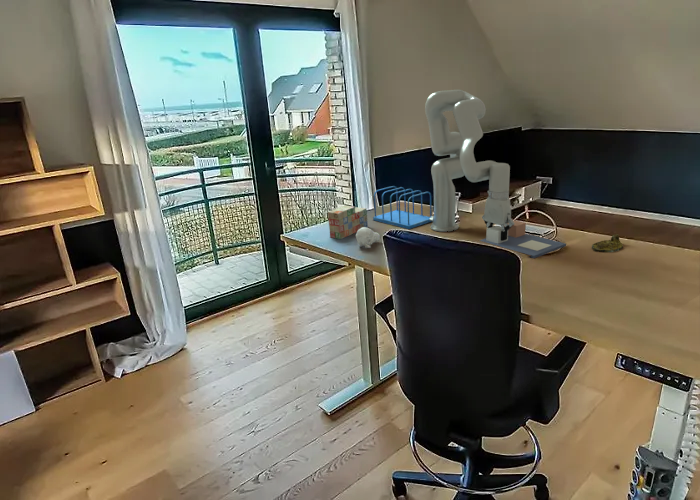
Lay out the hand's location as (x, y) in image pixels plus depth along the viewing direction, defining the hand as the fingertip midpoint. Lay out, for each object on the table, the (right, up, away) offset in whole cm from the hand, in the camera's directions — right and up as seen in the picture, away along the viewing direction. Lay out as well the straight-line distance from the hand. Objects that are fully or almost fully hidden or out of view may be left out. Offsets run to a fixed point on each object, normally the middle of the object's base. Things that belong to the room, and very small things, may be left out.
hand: (497, 237), depth 192 cm
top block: (+9, +1, +6) cm, 11 cm away
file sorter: (-34, +9, +41) cm, 54 cm away
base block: (0, -1, 0) cm, 1 cm away
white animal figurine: (-52, -3, +9) cm, 52 cm away
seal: (+38, -5, -12) cm, 40 cm away
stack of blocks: (-60, +3, +29) cm, 67 cm away
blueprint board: (+9, -3, -3) cm, 10 cm away
